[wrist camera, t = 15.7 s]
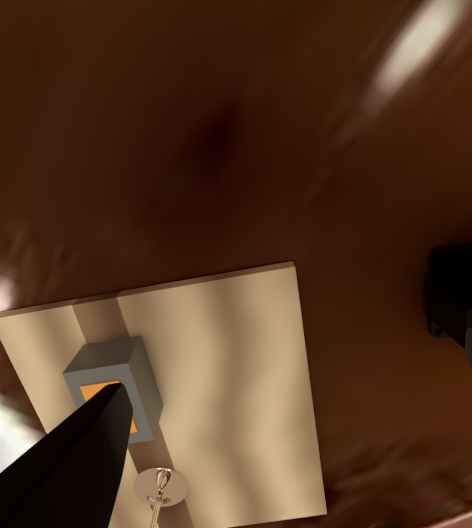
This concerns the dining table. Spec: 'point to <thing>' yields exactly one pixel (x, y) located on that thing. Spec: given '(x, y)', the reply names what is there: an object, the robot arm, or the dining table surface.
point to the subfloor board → (196, 391)
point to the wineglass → (160, 489)
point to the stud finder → (118, 380)
